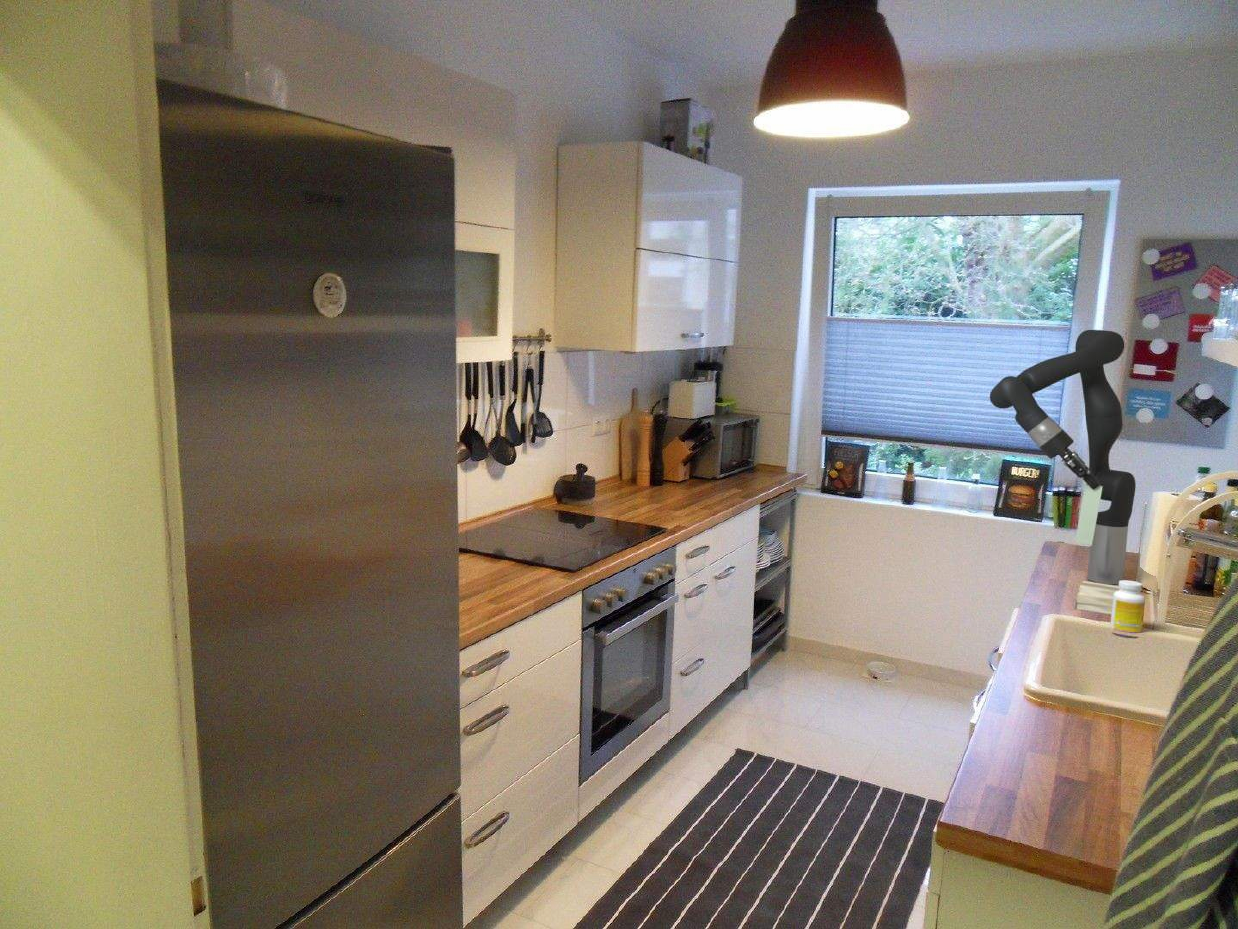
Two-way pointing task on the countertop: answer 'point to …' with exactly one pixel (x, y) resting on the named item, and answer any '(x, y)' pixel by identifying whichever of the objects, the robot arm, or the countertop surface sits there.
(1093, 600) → the offcut stack
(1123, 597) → the supplement bottle
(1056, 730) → the countertop surface
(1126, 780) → the countertop surface
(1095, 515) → the sage slat
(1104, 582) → the robot arm
